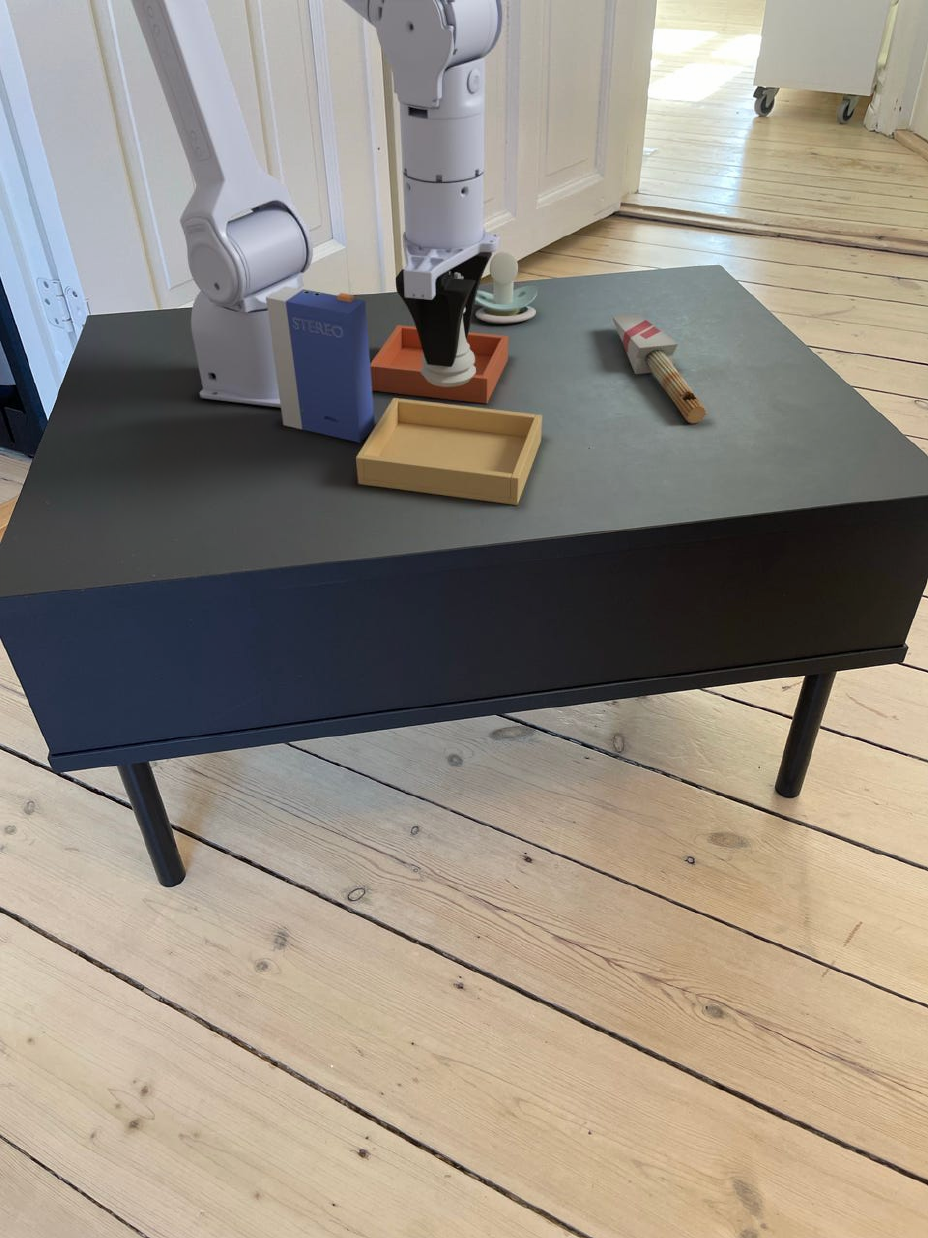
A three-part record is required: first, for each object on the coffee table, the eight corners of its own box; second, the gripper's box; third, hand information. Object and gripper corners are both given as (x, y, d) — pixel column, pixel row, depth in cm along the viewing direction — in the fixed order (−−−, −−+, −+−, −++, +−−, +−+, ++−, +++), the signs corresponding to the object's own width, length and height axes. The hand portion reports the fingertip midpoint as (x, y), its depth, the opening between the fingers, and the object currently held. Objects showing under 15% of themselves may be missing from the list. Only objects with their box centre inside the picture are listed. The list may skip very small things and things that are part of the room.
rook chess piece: (470, 391, 76) (470, 291, 71) (414, 386, 77) (410, 286, 71) (481, 365, 79) (481, 268, 74) (427, 361, 80) (424, 264, 75)
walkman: (375, 428, 86) (365, 295, 78) (359, 443, 84) (348, 308, 76) (299, 410, 88) (282, 280, 80) (282, 424, 86) (263, 292, 78)
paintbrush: (644, 298, 99) (718, 399, 85) (640, 324, 101) (713, 426, 86) (608, 301, 98) (676, 403, 84) (605, 327, 100) (671, 431, 86)
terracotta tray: (370, 390, 91) (368, 365, 89) (398, 348, 98) (397, 324, 96) (487, 403, 89) (487, 378, 87) (507, 359, 96) (508, 335, 94)
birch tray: (358, 484, 79) (355, 457, 77) (394, 422, 86) (393, 397, 85) (517, 505, 76) (518, 478, 75) (541, 440, 84) (542, 414, 82)
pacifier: (543, 325, 102) (532, 300, 106) (546, 266, 98) (535, 243, 102) (474, 329, 101) (466, 304, 106) (474, 271, 97) (466, 247, 101)
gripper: (475, 208, 62) (474, 401, 71) (519, 145, 72) (514, 319, 81) (369, 200, 63) (382, 390, 72) (428, 139, 74) (433, 312, 83)
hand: (446, 352), depth 77 cm, fingers closed on rook chess piece, 3 cm apart
